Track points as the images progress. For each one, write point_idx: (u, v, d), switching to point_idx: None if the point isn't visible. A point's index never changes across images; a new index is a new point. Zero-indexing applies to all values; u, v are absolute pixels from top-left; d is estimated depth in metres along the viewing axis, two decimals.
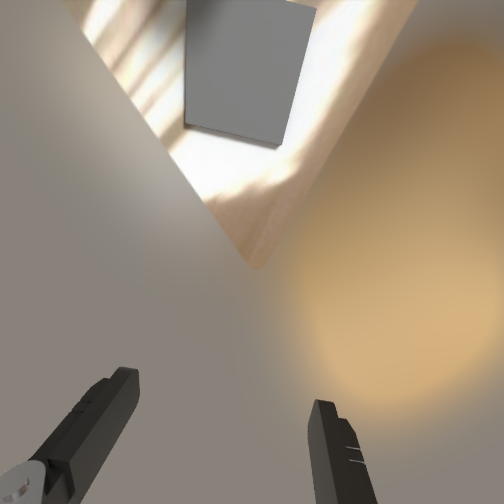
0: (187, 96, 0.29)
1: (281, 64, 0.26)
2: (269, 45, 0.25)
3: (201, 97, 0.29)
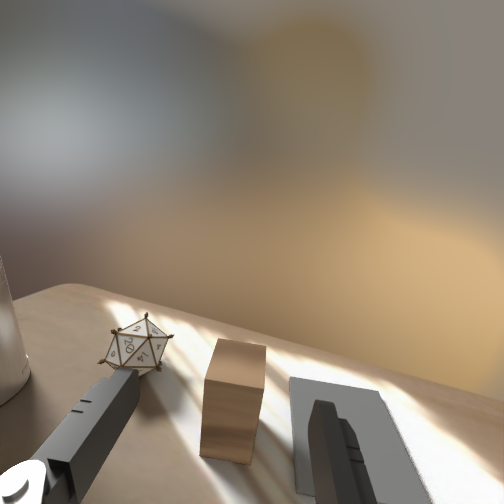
0: (401, 503, 0.23)
1: (325, 395, 0.33)
2: None
3: (390, 480, 0.24)
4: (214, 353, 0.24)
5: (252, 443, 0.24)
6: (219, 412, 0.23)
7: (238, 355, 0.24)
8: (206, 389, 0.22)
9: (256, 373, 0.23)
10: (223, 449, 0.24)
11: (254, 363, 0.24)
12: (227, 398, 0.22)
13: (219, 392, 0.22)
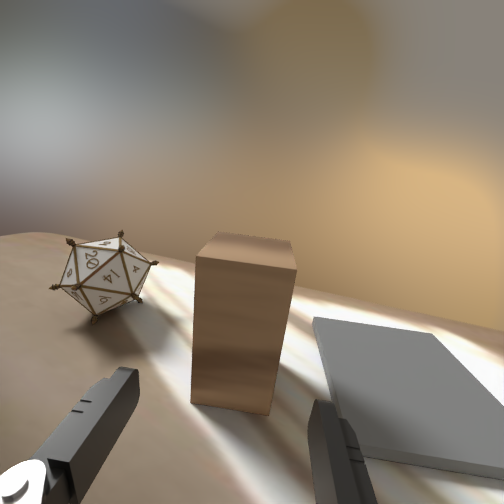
0: None
1: (364, 336, 0.24)
2: (357, 345, 0.22)
3: (489, 434, 0.16)
4: (212, 240, 0.16)
5: (273, 377, 0.15)
6: (221, 322, 0.14)
7: (249, 244, 0.16)
8: (199, 277, 0.13)
9: (281, 257, 0.14)
10: (227, 390, 0.16)
11: (275, 250, 0.15)
12: (234, 293, 0.13)
13: (220, 282, 0.13)
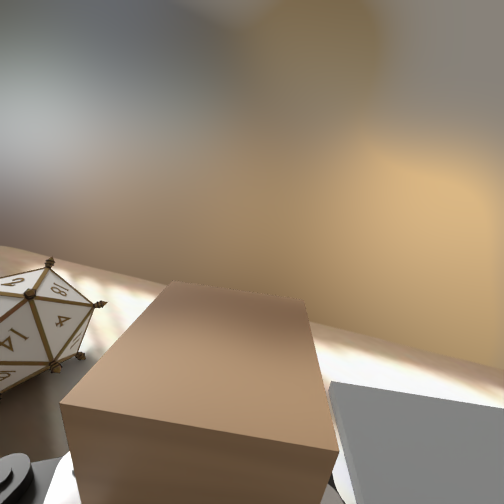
0: None
1: (410, 421, 0.16)
2: (404, 444, 0.14)
3: None
4: (147, 312, 0.08)
5: None
6: None
7: (224, 320, 0.08)
8: (79, 447, 0.05)
9: (291, 376, 0.06)
10: None
11: (276, 341, 0.07)
12: (172, 484, 0.05)
13: (134, 461, 0.05)
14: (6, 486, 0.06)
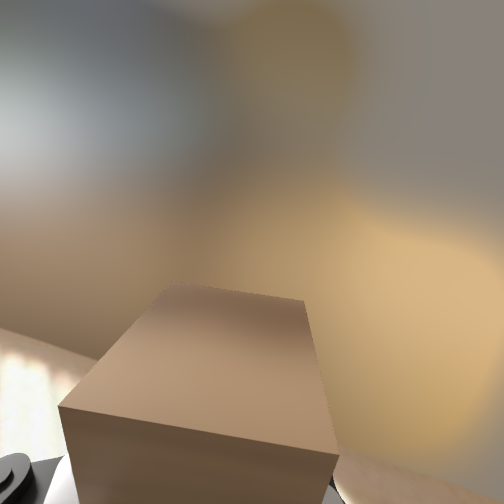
0: None
1: None
2: None
3: None
4: (147, 313, 0.08)
5: None
6: None
7: (224, 321, 0.08)
8: (77, 450, 0.05)
9: (291, 378, 0.06)
10: None
11: (276, 342, 0.07)
12: (171, 487, 0.05)
13: (133, 464, 0.05)
14: (6, 486, 0.06)
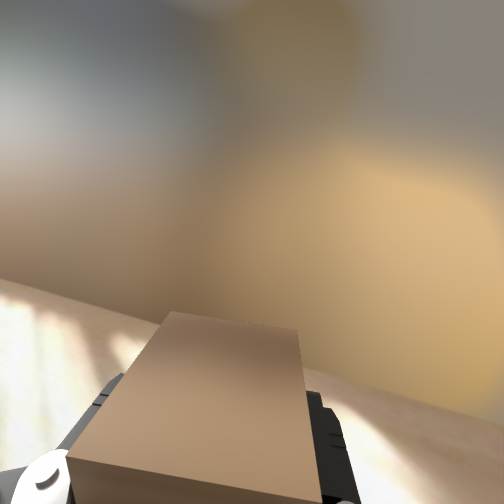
0: None
1: None
2: None
3: None
4: (146, 350, 0.08)
5: None
6: None
7: (219, 356, 0.08)
8: (82, 493, 0.05)
9: (281, 419, 0.06)
10: None
11: (268, 380, 0.07)
12: None
13: None
14: None
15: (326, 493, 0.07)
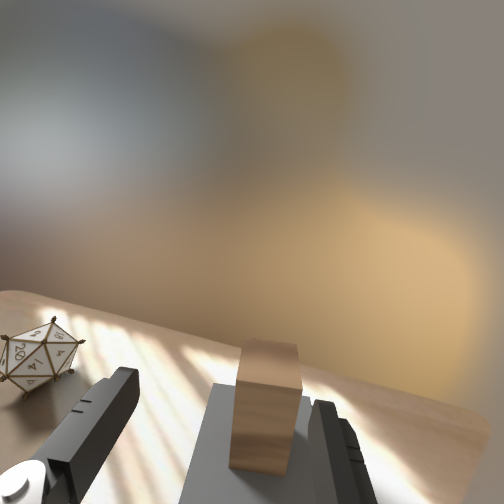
0: None
1: None
2: None
3: (291, 501, 0.21)
4: (242, 352, 0.22)
5: (288, 452, 0.21)
6: (252, 418, 0.21)
7: (268, 354, 0.23)
8: (237, 392, 0.20)
9: (291, 372, 0.21)
10: (255, 460, 0.22)
11: (286, 362, 0.22)
12: (261, 401, 0.20)
13: (252, 395, 0.20)
14: None
15: None
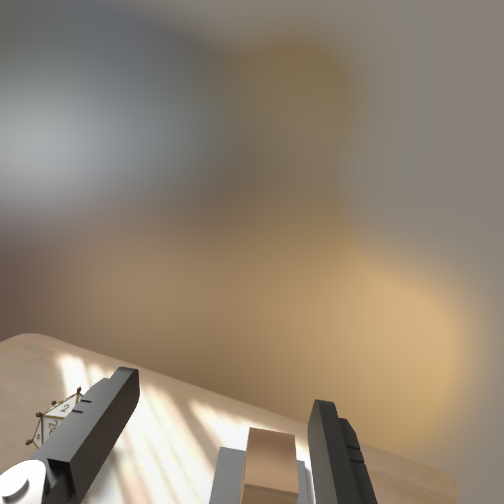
0: None
1: None
2: (239, 482, 0.32)
3: None
4: (249, 448, 0.27)
5: None
6: None
7: (270, 450, 0.27)
8: (245, 491, 0.24)
9: (290, 472, 0.25)
10: None
11: (286, 459, 0.26)
12: (264, 499, 0.24)
13: (257, 494, 0.24)
14: None
15: None
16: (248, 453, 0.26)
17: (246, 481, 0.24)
